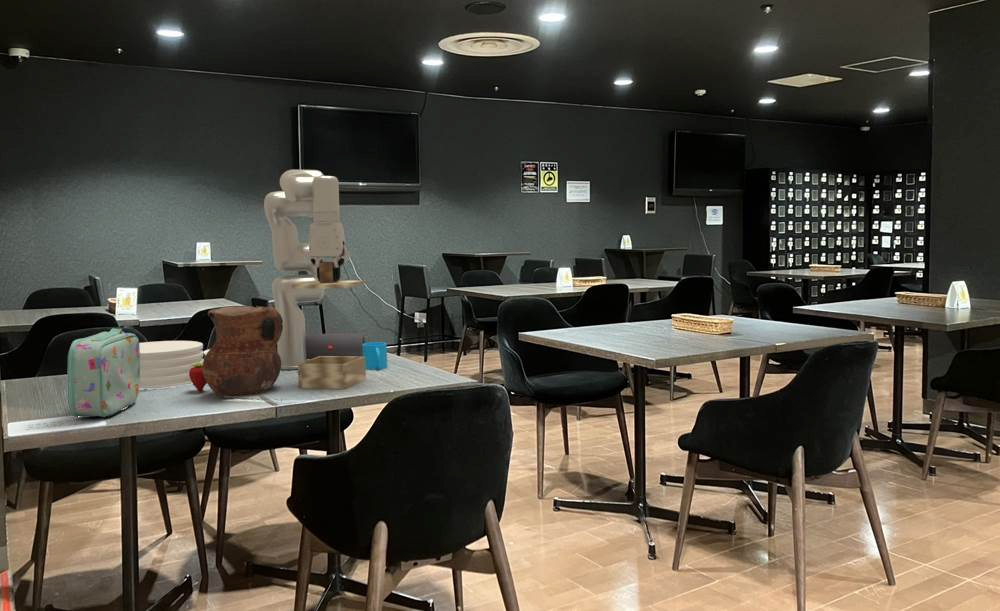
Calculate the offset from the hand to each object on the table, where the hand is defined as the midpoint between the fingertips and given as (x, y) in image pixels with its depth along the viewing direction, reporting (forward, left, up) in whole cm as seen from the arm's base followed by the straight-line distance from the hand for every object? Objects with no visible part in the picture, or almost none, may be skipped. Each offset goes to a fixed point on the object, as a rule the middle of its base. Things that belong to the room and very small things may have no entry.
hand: (328, 280), depth 246 cm
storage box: (0, 0, -32) cm, 32 cm away
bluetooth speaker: (-20, +47, -32) cm, 61 cm away
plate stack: (-60, +2, -32) cm, 68 cm away
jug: (-22, -13, -32) cm, 41 cm away
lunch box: (-47, -39, -32) cm, 69 cm away
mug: (+2, +33, -32) cm, 46 cm away
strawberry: (-37, -11, -32) cm, 50 cm away
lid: (0, 0, -2) cm, 2 cm away
